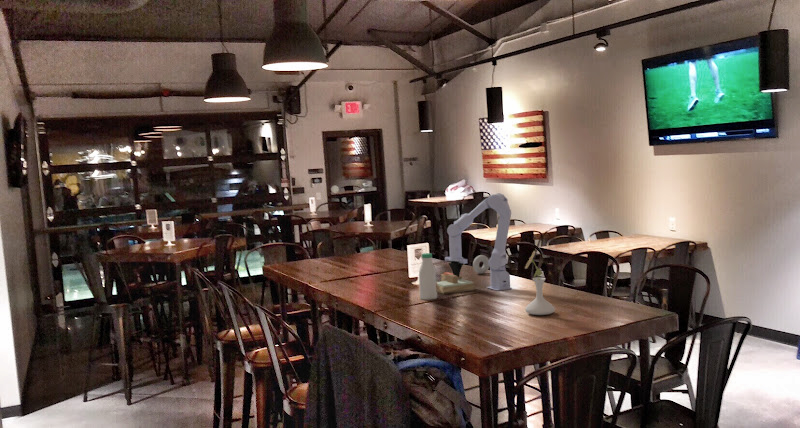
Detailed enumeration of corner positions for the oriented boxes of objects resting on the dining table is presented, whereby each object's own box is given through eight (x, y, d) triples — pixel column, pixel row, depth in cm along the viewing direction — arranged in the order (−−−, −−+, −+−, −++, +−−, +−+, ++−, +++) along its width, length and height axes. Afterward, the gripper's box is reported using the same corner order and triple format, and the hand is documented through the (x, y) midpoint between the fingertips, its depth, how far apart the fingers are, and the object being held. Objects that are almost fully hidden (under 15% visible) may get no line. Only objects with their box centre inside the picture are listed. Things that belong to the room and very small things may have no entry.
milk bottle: (435, 300, 296) (434, 254, 295) (418, 300, 298) (416, 255, 297) (438, 296, 304) (436, 252, 303) (421, 296, 306) (419, 252, 304)
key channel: (462, 286, 326) (461, 276, 325) (453, 287, 324) (453, 277, 323) (449, 282, 337) (448, 273, 337) (441, 283, 336) (440, 274, 335)
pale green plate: (473, 283, 316) (472, 275, 315) (443, 287, 309) (443, 278, 309) (462, 280, 325) (461, 272, 325) (433, 284, 319) (433, 275, 319)
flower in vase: (534, 309, 270) (532, 247, 268) (560, 312, 263) (558, 248, 261) (517, 316, 260) (515, 251, 258) (544, 319, 253) (542, 252, 251)
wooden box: (474, 289, 316) (474, 283, 315) (443, 294, 309) (443, 287, 309) (462, 286, 326) (462, 280, 325) (432, 290, 319) (432, 284, 319)
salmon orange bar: (457, 278, 327) (457, 274, 327) (453, 278, 326) (453, 275, 326) (447, 275, 336) (447, 272, 336) (443, 275, 335) (443, 272, 335)
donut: (475, 275, 356) (474, 256, 355) (471, 274, 359) (471, 255, 358) (491, 273, 360) (490, 254, 359) (487, 272, 363) (487, 253, 362)
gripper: (471, 249, 321) (472, 277, 322) (452, 247, 332) (453, 274, 333) (460, 251, 317) (461, 279, 318) (441, 248, 328) (442, 276, 329)
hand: (456, 277), depth 325 cm, fingers closed
